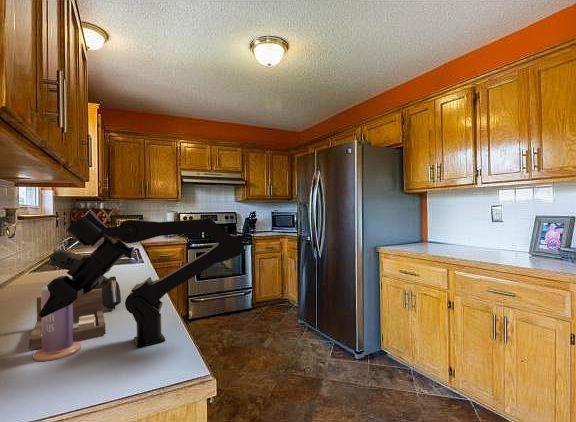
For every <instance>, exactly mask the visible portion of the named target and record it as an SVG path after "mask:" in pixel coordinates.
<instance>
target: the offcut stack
mask: <svg viewBox="0 0 576 422" xmlns="http://www.w3.org/2000/svg"><path fill="white" fill-rule="evenodd" d="M96 322H97V320H96V319H95V317H94V314H93V315H87V316H81V317H79V322H78V323H77V324H78V325H77V326H78V329H83V328H89V327H94V326H97V325H96V324H97V323H96ZM78 329H77V330H78Z"/></svg>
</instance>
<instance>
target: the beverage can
mask: <svg viewBox="0 0 576 422" xmlns="http://www.w3.org/2000/svg"><path fill="white" fill-rule="evenodd" d="M40 297H41V310H42V308H43V307H44V305H45V303H46V302H47V300H48V298H49V297H50V292H49V291H48V288H47V285H45V286H42V287H41V292H40ZM73 330H74V323H73V303H72V304H71V305H69V306H66V307H64V308H62V309H60V310H58V311H56V312H54V313H51V314H49V315H47V316H45V317H43V318H42V335H41V336H42V351H43V352H44V353H45V354H57V353H61V352H64V351H66V350H68V349H70V348H71V347H72V345H73Z"/></svg>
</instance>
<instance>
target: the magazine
mask: <svg viewBox="0 0 576 422" xmlns="http://www.w3.org/2000/svg"><path fill="white" fill-rule="evenodd" d="M94 289H102V306H107V307H111V310H116V307H117V306H118V305H119V304H121V303H122V297H121V289H120V284H119V282H118V281H117V277H116V276H114V275H113V276H110V277H109V278H108V277H107V276H105V275H103V281H102V282H101V283H100V284H99V285H98V286H97V287H96V288H94ZM94 289H93V290H94Z"/></svg>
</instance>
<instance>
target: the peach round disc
mask: <svg viewBox="0 0 576 422" xmlns="http://www.w3.org/2000/svg"><path fill="white" fill-rule="evenodd" d="M81 349H82V344H81V342H79V341H76V342H73V345H72V347H71V348H70V349H68V350H66V351H64V352H61V353H57V354H45V353H44V352H43V351H42V349H37V350H36V351H35V352H34V353H33V356H32V358H33V360H34V361H37V362H48V361H49V362H50V361H54V360H55V361H56V360H60V359H64V358H67V357H68V356H71V355H74V354H76V353H77V352H79V351H80V350H81Z"/></svg>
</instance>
